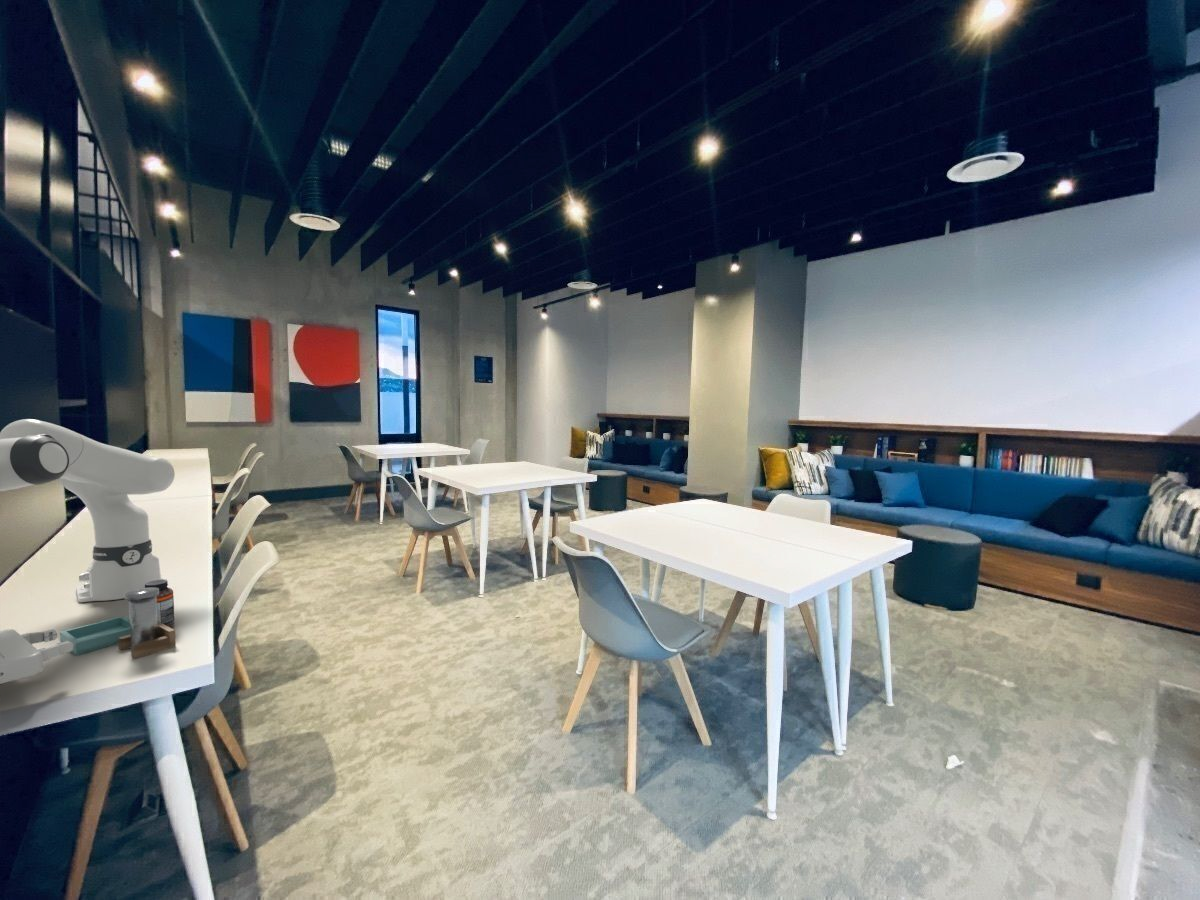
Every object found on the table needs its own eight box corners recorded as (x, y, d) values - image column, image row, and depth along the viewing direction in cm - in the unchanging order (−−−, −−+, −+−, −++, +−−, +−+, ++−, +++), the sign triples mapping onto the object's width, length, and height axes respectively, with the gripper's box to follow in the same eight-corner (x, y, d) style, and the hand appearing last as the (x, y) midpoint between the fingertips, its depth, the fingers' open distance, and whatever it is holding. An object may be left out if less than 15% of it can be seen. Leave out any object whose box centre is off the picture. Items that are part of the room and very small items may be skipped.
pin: (123, 649, 107) (120, 593, 106) (155, 640, 112) (153, 585, 111) (133, 656, 104) (130, 597, 104) (165, 646, 109) (163, 590, 108)
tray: (60, 643, 110) (59, 631, 110) (124, 626, 119) (123, 615, 119) (76, 655, 104) (75, 643, 104) (141, 636, 114) (141, 625, 113)
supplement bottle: (135, 631, 116) (132, 584, 115) (165, 621, 122) (163, 576, 121) (150, 635, 114) (148, 587, 113) (180, 625, 120) (178, 579, 119)
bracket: (118, 648, 108) (118, 632, 108) (158, 636, 114) (158, 621, 113) (134, 658, 103) (134, 642, 103) (175, 646, 109) (174, 630, 109)
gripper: (-41, 668, 80) (80, 636, 92) (-64, 638, 90) (47, 612, 102) (-38, 706, 80) (82, 669, 92) (-62, 671, 91) (49, 642, 103)
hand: (63, 639), depth 97 cm, fingers open, 8 cm apart
